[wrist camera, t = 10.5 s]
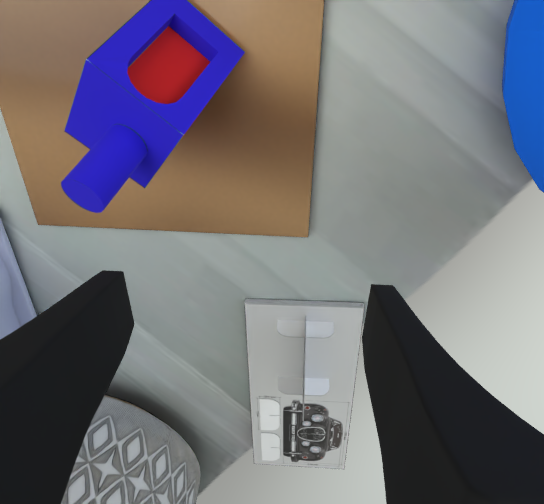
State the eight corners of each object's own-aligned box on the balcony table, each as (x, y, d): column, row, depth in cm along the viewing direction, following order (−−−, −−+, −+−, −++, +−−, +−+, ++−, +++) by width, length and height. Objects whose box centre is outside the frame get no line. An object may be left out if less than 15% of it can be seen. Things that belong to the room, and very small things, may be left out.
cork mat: (308, 233, 22) (308, 237, 22) (41, 221, 23) (37, 224, 23) (332, -127, 15) (333, -130, 14) (-69, -129, 15) (-77, -132, 15)
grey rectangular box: (245, 298, 25) (233, 355, 21) (363, 302, 24) (373, 361, 20) (254, 458, 33) (247, 521, 29) (343, 463, 32) (348, 528, 28)
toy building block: (135, 58, 19) (14, 181, 15) (169, -18, 16) (25, 113, 12) (201, 111, 20) (106, 240, 16) (245, 51, 17) (139, 194, 13)
